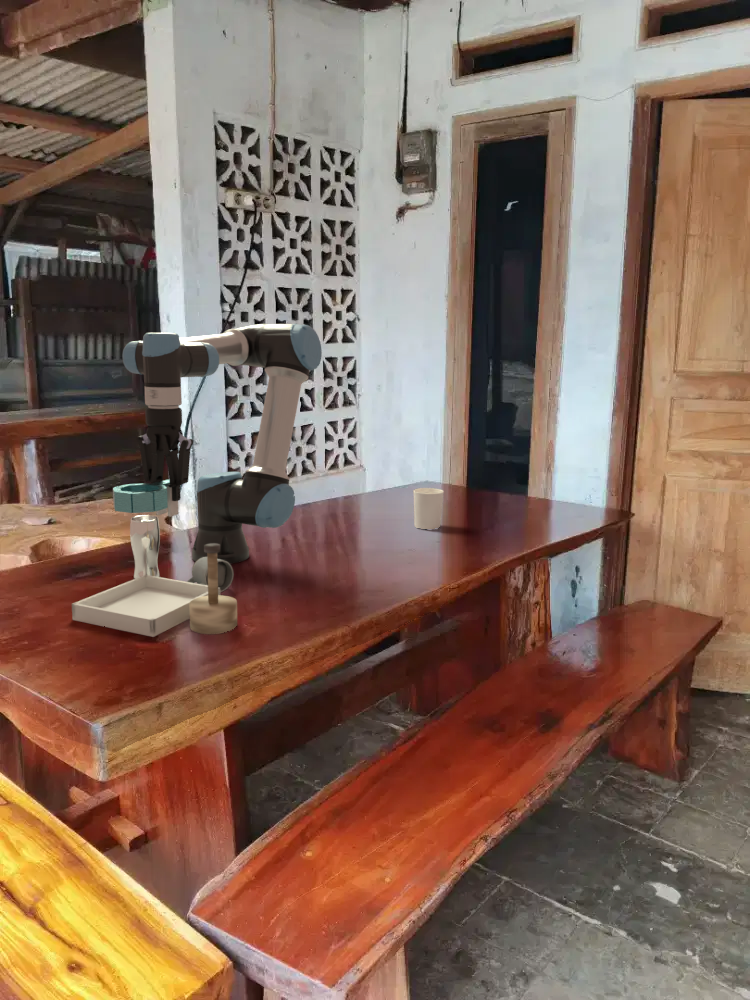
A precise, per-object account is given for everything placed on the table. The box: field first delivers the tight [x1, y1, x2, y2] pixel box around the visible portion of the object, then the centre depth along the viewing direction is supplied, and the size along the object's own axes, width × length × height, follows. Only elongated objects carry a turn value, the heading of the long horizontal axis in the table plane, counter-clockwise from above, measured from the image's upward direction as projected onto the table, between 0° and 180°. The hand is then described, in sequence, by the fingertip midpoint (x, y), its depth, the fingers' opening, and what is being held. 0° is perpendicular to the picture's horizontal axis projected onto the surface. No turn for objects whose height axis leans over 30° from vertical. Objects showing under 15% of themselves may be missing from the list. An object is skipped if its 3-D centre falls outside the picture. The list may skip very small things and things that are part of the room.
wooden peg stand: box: [189, 543, 238, 635], centre depth 158 cm, size 10×10×17 cm
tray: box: [71, 575, 221, 638], centre depth 167 cm, size 23×21×4 cm
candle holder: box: [412, 487, 445, 530], centre depth 247 cm, size 10×10×12 cm
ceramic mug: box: [186, 557, 234, 593], centre depth 182 cm, size 11×8×8 cm
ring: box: [112, 478, 170, 514], centre depth 162 cm, size 17×10×4 cm, turn 157°
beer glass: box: [129, 514, 161, 579], centre depth 189 cm, size 7×7×15 cm
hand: (167, 514), depth 168 cm, fingers closed on ring, 2 cm apart
